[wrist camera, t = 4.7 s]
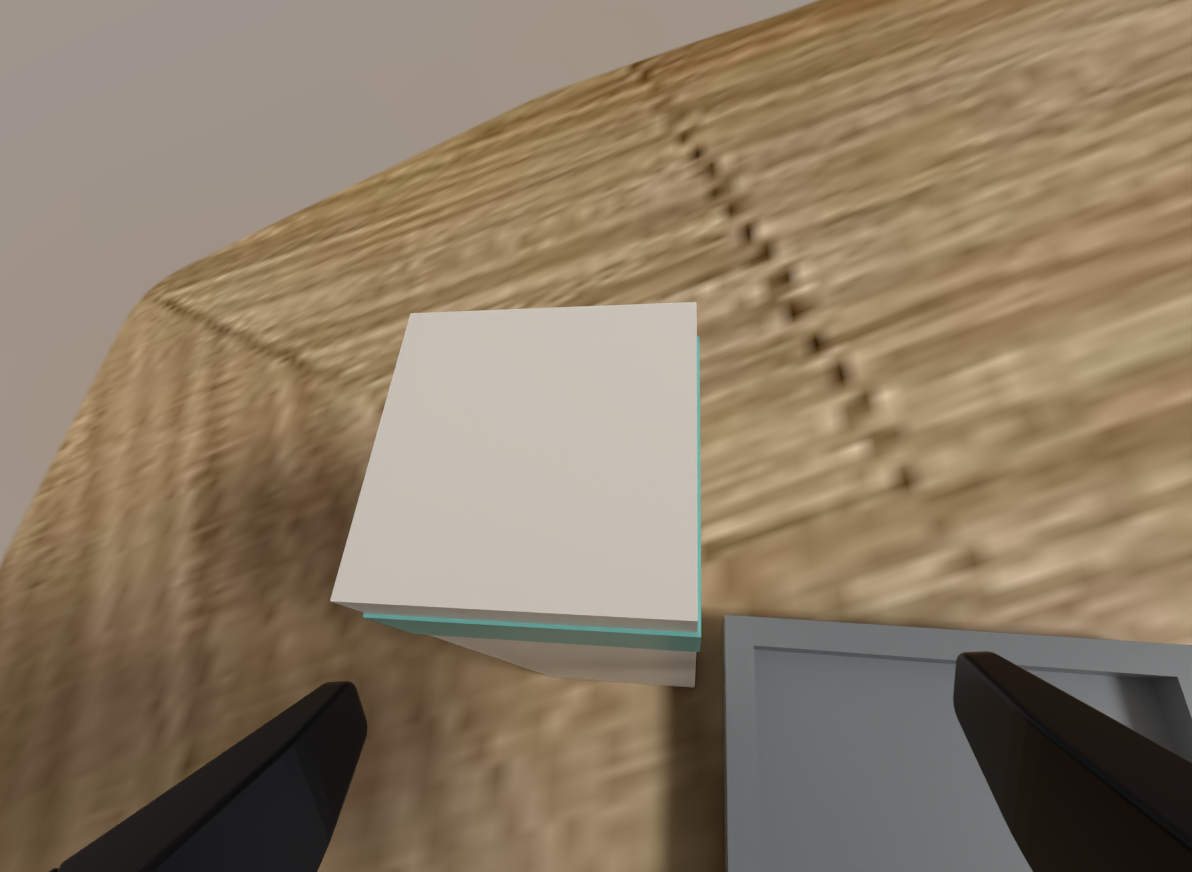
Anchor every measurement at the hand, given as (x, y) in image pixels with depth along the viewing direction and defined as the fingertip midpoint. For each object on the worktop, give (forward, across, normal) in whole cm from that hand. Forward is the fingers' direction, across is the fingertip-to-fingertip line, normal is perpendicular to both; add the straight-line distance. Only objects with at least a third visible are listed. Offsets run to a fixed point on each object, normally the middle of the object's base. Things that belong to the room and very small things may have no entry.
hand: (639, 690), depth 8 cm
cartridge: (+9, +1, +5) cm, 10 cm away
